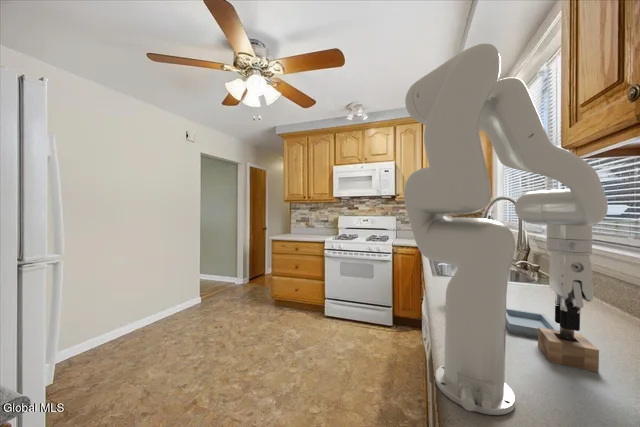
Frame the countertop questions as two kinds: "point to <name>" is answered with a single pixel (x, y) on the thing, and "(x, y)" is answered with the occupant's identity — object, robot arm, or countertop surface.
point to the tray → (527, 322)
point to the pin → (566, 333)
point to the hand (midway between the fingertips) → (566, 325)
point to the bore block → (568, 350)
